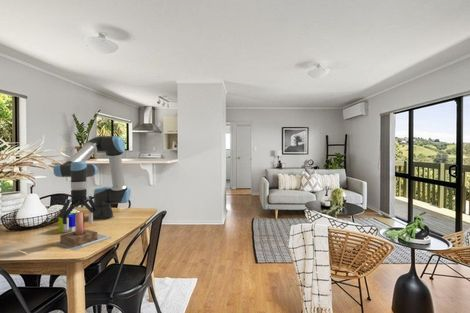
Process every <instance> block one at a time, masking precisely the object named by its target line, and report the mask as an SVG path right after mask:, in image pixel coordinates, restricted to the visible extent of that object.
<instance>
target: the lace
mask: <svg viewBox="0 0 470 313" xmlns="http://www.w3.org/2000/svg"><path fill="white" fill-rule="evenodd" d="M109 237H110V236H108V237H105V238H102V239H99V240H96V241H93V242H90V243H87V244H84V245H81V246H85V245H88V244H91V243H94V242H97V241H100V240H103V239H106V238H109Z"/></svg>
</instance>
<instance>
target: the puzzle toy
mask: <svg viewBox="0 0 470 313" xmlns="http://www.w3.org/2000/svg"><path fill="white" fill-rule="evenodd" d="M75 213H76V212H71V213H70V214H69V215H68V217H67V218H69V230H64V224H63V218H60V217H59V216H58V232H59V233H71V232H74V231H75ZM83 229H85V213H84V212H83Z"/></svg>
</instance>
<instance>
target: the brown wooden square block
mask: <svg viewBox="0 0 470 313" xmlns="http://www.w3.org/2000/svg"><path fill="white" fill-rule="evenodd" d="M97 234H98V231H95V230H94V231H93V230H91V229H86V228H83V234H82V235H79V236H76V235H75V231H73V232H66V233H64V234H59V236H60V237H59V238H60V241H59V242H60V243H61V244H65V245H68V246H72V247H77V246H80V245H83V244H86V243H89V242H92V241H95V240H98V239H97Z"/></svg>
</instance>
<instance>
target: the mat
mask: <svg viewBox="0 0 470 313" xmlns="http://www.w3.org/2000/svg"><path fill="white" fill-rule="evenodd" d="M105 237H109V238H106V239H103V240H100V241H97V242H94V243H91V244H88V245H85V246H81V245H80V246H77V247H72V246H68V245H65V244H61V243H60V241H59V242H54V243H53V245H54V246H59V247H62V248H66V249H69V250H72V251H78V250H80V249H83V248H86V247H90V246H92V245H95V244H98V243H101V242H104V241H107V240H110V239H112V238H113V237H112V236H109V235H108V236H107V235H104V234H98V233H97V239H98V240H99V239H102V238H105ZM95 241H96V240H95ZM92 242H93V241H92ZM89 243H90V242H89ZM86 244H87V243H86ZM83 245H84V244H83Z"/></svg>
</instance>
